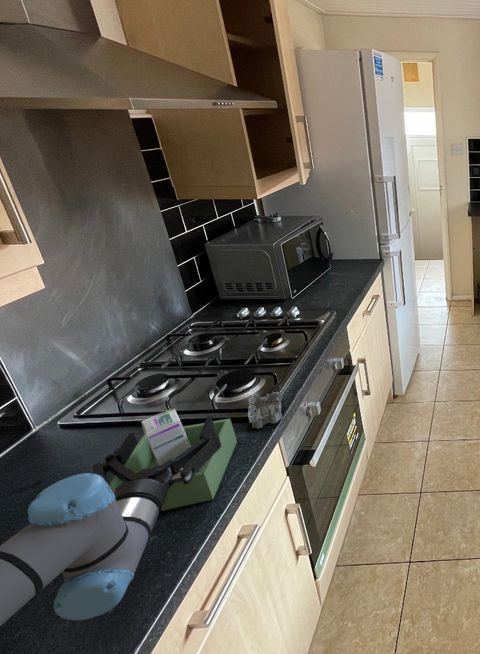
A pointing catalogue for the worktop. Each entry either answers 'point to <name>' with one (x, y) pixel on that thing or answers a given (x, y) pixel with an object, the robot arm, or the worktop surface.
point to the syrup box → (165, 436)
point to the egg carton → (264, 409)
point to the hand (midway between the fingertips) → (173, 429)
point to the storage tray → (202, 481)
